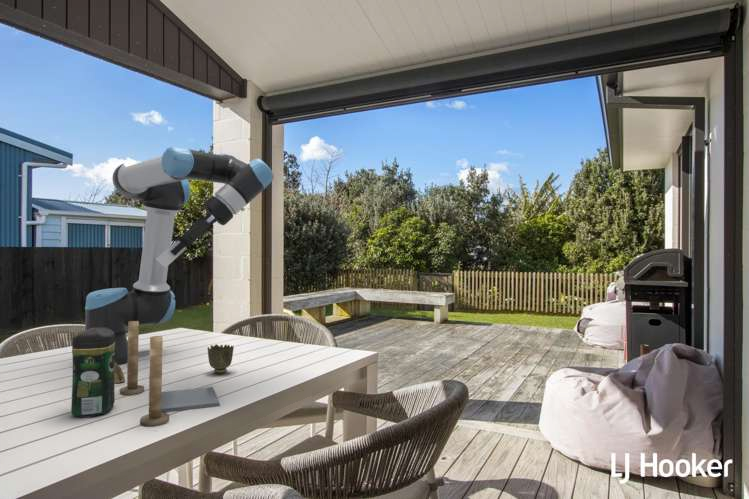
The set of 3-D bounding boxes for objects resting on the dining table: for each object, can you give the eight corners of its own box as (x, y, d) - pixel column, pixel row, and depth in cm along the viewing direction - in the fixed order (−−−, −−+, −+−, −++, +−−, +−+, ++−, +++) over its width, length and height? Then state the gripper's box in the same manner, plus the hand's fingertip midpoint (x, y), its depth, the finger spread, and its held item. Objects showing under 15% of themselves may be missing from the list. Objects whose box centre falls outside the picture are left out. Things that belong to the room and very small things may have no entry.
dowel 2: (134, 425, 98) (136, 338, 99) (149, 416, 104) (151, 334, 104) (160, 427, 98) (161, 339, 98) (174, 417, 104) (175, 335, 104)
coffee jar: (79, 405, 111) (81, 325, 111) (117, 403, 113) (119, 324, 113) (65, 419, 101) (67, 332, 101) (106, 417, 103) (108, 331, 104)
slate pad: (159, 412, 106) (159, 409, 106) (158, 395, 119) (158, 392, 119) (219, 405, 112) (219, 402, 112) (212, 389, 125) (212, 386, 125)
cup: (225, 377, 137) (225, 349, 137) (202, 375, 139) (202, 348, 139) (237, 371, 144) (238, 344, 144) (215, 369, 146) (216, 343, 146)
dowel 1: (114, 394, 119) (116, 322, 119) (128, 388, 125) (129, 319, 125) (136, 395, 118) (137, 323, 119) (148, 389, 124) (150, 320, 124)
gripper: (243, 212, 114) (174, 275, 107) (227, 219, 136) (169, 272, 130) (220, 188, 112) (148, 252, 105) (207, 199, 134) (148, 252, 127)
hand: (160, 263), depth 117 cm, fingers open, 13 cm apart
